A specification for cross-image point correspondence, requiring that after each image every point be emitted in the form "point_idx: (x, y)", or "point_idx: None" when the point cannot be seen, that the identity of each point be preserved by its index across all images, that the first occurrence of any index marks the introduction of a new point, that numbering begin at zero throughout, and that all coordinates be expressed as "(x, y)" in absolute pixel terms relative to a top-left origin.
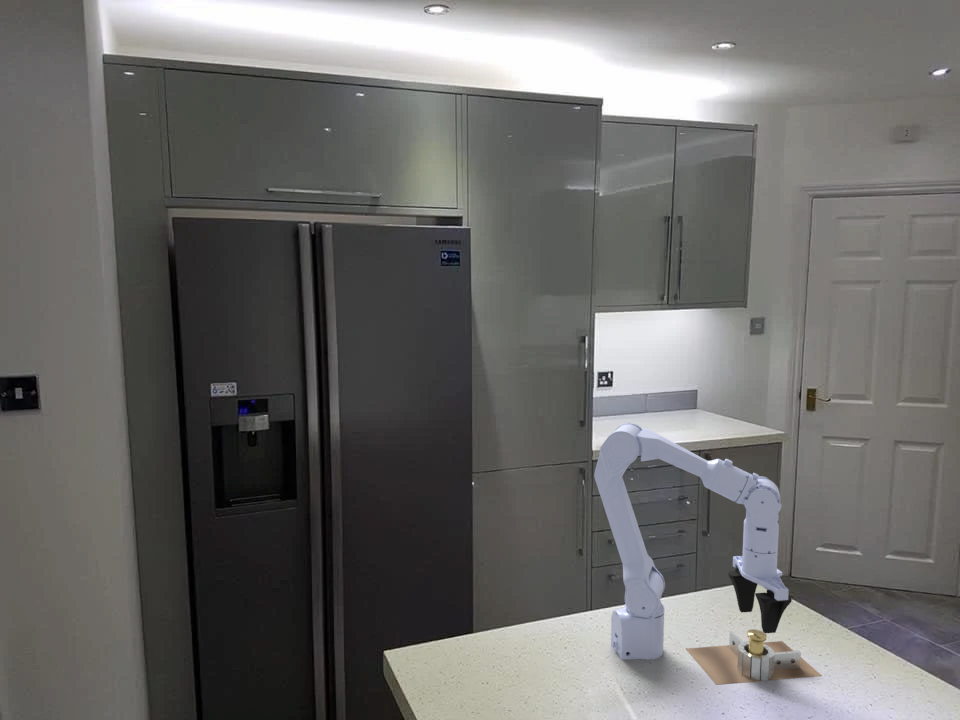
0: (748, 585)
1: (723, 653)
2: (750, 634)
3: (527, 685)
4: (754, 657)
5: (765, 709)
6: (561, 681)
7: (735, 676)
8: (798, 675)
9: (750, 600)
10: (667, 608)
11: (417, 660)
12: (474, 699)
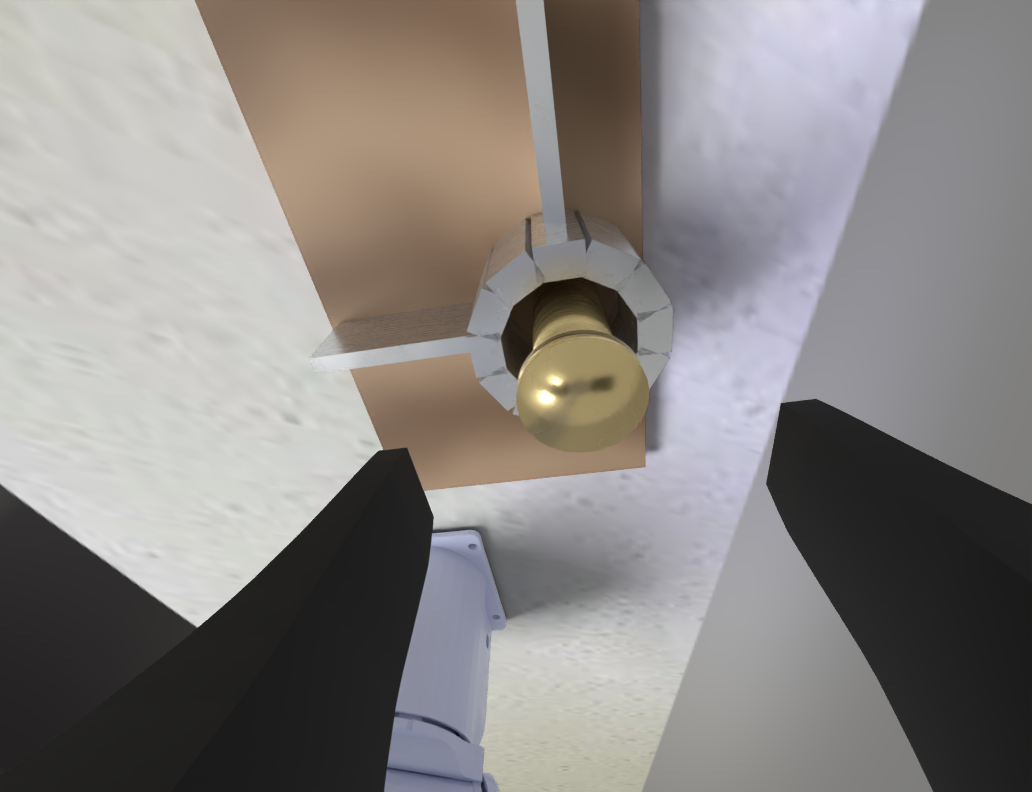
0: (307, 779)
1: (416, 378)
2: (590, 442)
3: (577, 736)
4: (649, 381)
5: (791, 335)
6: (566, 703)
7: None
8: (618, 55)
9: (375, 545)
10: (38, 452)
11: None
12: (613, 776)
